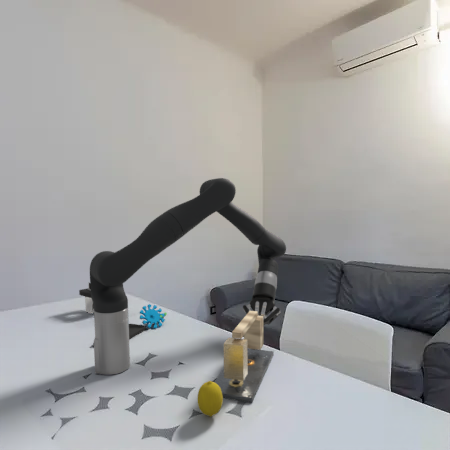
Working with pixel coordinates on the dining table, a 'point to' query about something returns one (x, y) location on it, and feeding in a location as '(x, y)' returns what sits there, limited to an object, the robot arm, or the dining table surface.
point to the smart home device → (135, 330)
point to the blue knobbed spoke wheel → (152, 316)
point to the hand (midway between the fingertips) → (257, 335)
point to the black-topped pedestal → (87, 299)
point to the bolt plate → (249, 378)
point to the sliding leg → (250, 330)
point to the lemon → (210, 398)
